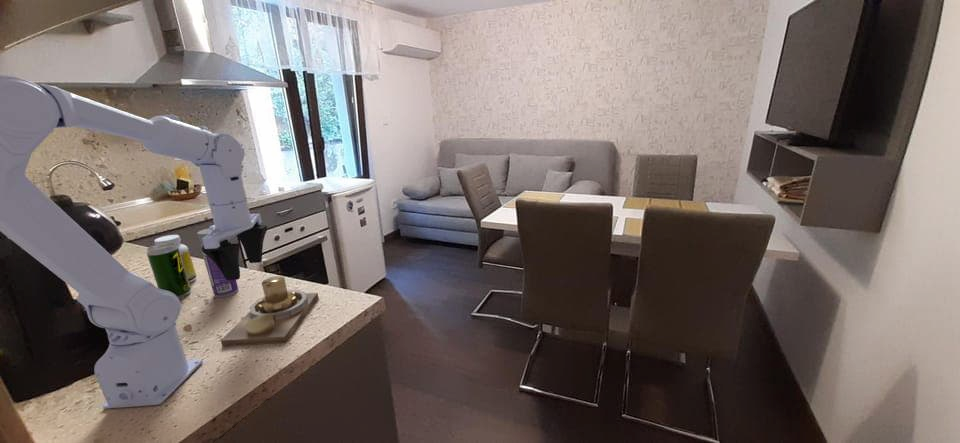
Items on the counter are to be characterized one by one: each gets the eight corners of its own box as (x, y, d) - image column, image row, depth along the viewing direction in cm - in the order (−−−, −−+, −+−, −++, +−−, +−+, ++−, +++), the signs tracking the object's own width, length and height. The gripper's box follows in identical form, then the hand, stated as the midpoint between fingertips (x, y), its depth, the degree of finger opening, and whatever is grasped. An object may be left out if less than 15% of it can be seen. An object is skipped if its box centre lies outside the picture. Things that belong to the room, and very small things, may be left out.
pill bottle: (201, 280, 91) (188, 236, 88) (170, 291, 86) (155, 244, 83) (190, 274, 95) (178, 231, 91) (159, 284, 90) (144, 239, 86)
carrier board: (285, 342, 66) (282, 329, 65) (222, 346, 65) (218, 333, 64) (318, 297, 81) (316, 286, 80) (267, 300, 80) (264, 289, 79)
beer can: (160, 303, 81) (143, 253, 77) (162, 294, 85) (146, 245, 81) (191, 296, 84) (176, 246, 80) (191, 287, 88) (177, 240, 84)
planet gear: (289, 315, 72) (283, 287, 70) (253, 317, 72) (246, 290, 70) (302, 297, 78) (297, 272, 77) (269, 300, 78) (263, 274, 76)
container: (243, 287, 87) (227, 227, 82) (228, 297, 82) (211, 234, 78) (224, 287, 87) (208, 227, 82) (209, 297, 83) (190, 234, 78)
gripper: (230, 193, 74) (245, 256, 78) (175, 213, 60) (197, 289, 64) (266, 191, 74) (279, 255, 78) (220, 211, 60) (239, 287, 64)
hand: (245, 270), depth 71 cm, fingers open, 7 cm apart
